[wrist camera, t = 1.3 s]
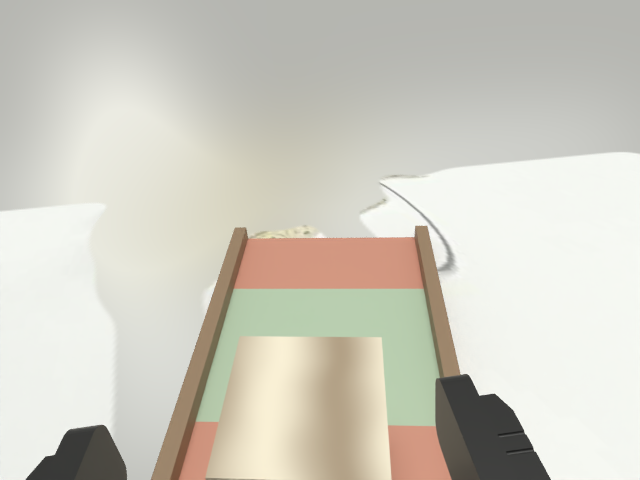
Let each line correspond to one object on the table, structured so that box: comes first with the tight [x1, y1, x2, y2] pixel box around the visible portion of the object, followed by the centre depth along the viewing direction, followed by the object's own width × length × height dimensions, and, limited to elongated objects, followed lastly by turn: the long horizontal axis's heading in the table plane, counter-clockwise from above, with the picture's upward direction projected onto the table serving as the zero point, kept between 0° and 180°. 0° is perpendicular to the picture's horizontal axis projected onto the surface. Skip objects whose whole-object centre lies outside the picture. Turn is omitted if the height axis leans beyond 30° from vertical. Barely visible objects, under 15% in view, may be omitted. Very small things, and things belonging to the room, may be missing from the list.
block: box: [205, 336, 392, 480], centre depth 26 cm, size 8×8×10 cm
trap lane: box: [151, 226, 460, 480], centre depth 37 cm, size 20×34×2 cm, turn 177°
